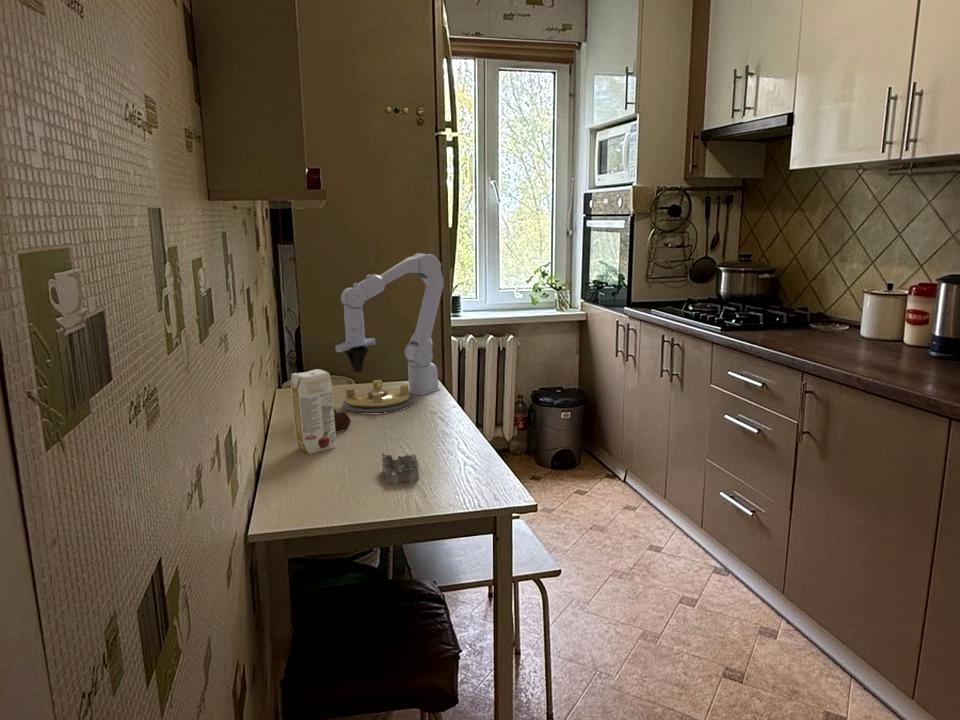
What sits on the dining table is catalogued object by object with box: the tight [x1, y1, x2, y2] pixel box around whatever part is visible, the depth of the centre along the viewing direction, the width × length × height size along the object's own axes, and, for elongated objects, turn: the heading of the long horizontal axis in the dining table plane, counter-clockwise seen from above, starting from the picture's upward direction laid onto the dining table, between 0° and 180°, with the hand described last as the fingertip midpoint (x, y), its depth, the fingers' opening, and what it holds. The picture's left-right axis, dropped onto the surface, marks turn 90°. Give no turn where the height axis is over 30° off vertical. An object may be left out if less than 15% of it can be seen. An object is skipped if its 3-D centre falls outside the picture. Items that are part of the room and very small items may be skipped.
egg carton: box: [381, 452, 420, 485], centre depth 144 cm, size 11×8×4 cm
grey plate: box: [342, 394, 414, 414], centre depth 202 cm, size 21×21×1 cm
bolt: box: [334, 408, 352, 433], centre depth 183 cm, size 6×5×15 cm
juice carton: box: [290, 368, 337, 455], centre depth 161 cm, size 8×9×19 cm
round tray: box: [345, 379, 411, 408], centre depth 201 cm, size 19×19×4 cm
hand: (357, 371), depth 205 cm, fingers closed
